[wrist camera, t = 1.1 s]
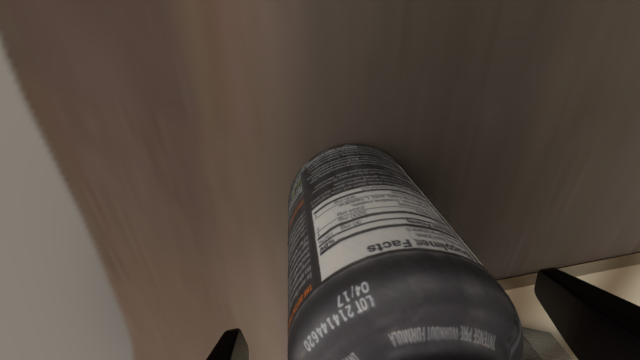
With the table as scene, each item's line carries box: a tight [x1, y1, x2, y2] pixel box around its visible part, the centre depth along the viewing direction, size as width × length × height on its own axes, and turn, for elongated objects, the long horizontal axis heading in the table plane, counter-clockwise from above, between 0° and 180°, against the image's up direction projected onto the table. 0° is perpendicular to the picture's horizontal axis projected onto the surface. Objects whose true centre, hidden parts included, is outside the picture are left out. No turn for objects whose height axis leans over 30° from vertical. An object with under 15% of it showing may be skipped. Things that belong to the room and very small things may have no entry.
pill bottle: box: [288, 144, 523, 360], centre depth 10 cm, size 6×6×11 cm
